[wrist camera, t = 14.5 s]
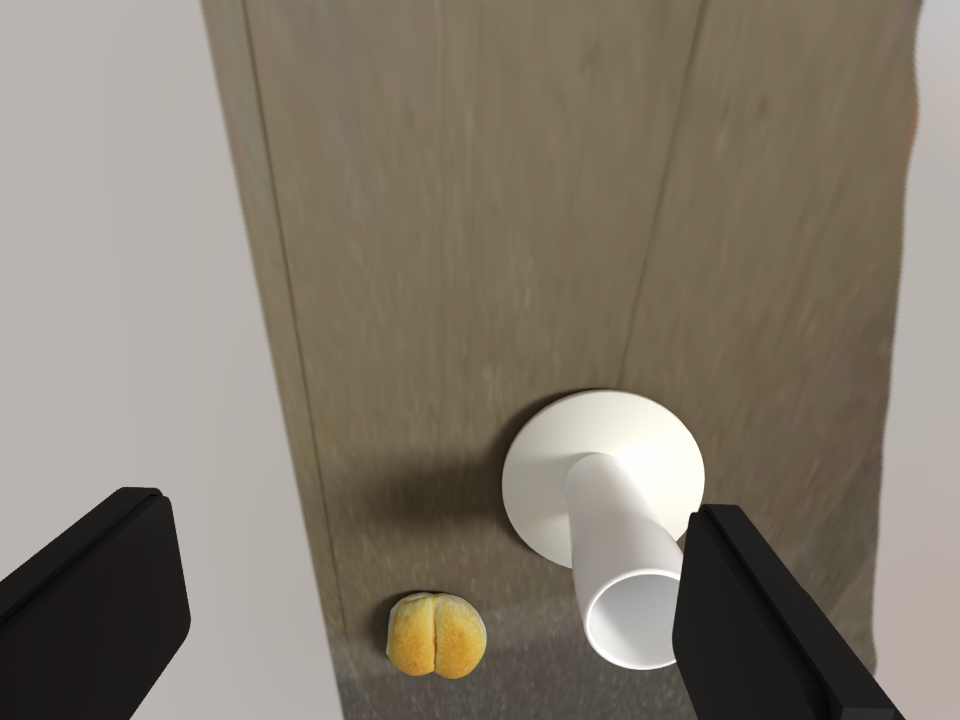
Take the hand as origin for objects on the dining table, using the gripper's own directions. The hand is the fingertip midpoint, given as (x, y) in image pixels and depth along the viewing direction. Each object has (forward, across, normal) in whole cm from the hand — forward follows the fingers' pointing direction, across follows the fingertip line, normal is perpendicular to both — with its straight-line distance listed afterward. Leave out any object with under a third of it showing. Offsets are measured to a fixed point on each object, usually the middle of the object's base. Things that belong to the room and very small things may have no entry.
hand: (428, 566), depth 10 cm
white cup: (+31, -10, +15) cm, 36 cm away
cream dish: (+32, -10, +16) cm, 37 cm away
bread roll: (+33, +4, +32) cm, 46 cm away
